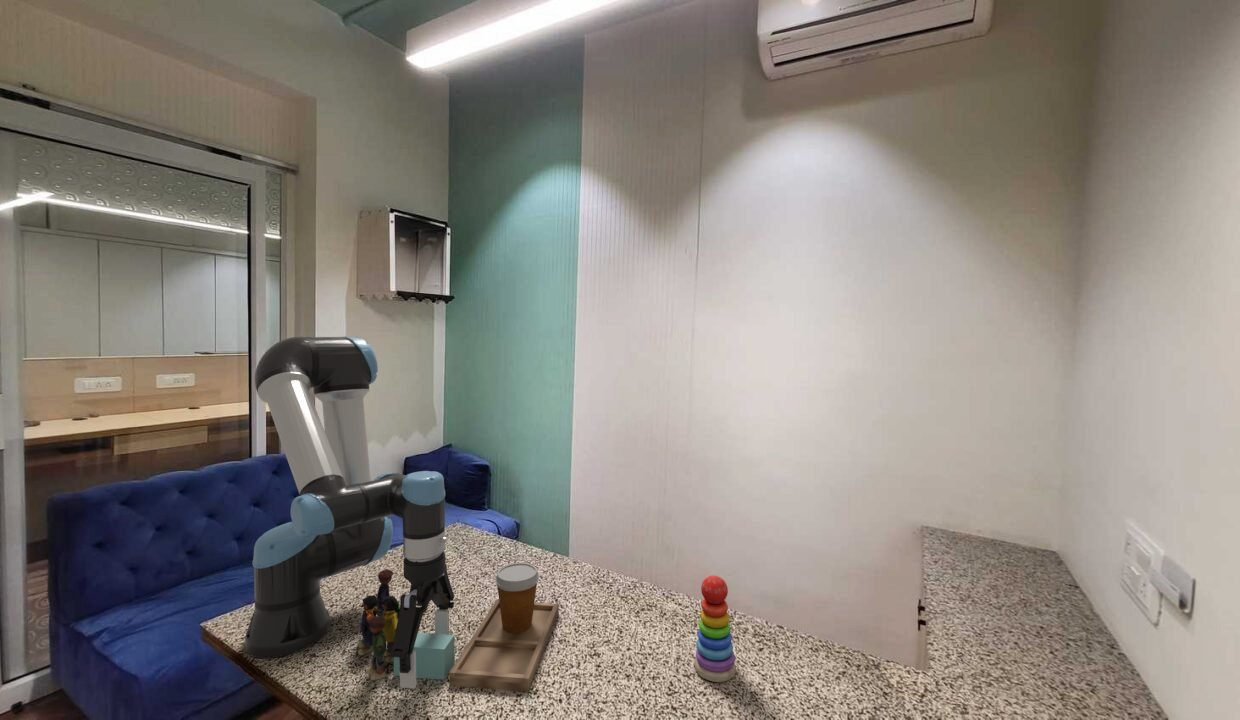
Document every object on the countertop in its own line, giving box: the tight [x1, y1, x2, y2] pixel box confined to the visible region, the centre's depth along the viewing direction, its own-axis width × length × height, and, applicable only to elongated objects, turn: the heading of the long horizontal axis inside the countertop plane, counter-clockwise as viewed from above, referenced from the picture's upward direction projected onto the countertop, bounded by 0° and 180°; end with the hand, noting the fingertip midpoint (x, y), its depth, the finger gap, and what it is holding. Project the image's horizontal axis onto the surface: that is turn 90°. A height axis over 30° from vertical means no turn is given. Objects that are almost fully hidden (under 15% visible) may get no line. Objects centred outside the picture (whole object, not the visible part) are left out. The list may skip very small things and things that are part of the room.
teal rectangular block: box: [393, 632, 456, 681], centre depth 96 cm, size 10×4×6 cm, turn 85°
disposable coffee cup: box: [494, 562, 540, 633], centre depth 109 cm, size 10×10×12 cm
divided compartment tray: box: [448, 599, 560, 693], centre depth 104 cm, size 15×26×2 cm, turn 175°
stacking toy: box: [693, 575, 737, 683], centre depth 97 cm, size 8×8×19 cm
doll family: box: [357, 569, 400, 681], centre depth 103 cm, size 23×9×13 cm, turn 41°
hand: (426, 662), depth 96 cm, fingers open, 13 cm apart
